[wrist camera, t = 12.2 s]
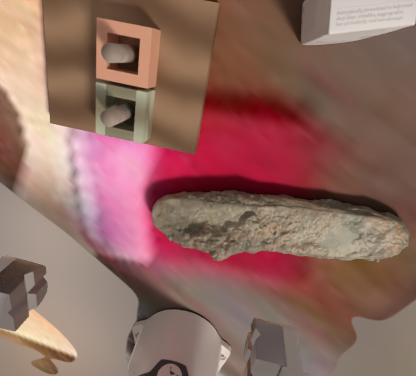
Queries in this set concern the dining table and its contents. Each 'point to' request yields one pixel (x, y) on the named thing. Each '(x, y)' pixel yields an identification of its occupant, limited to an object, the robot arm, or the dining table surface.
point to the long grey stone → (278, 226)
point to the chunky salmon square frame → (147, 53)
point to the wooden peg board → (131, 69)
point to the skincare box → (353, 19)
